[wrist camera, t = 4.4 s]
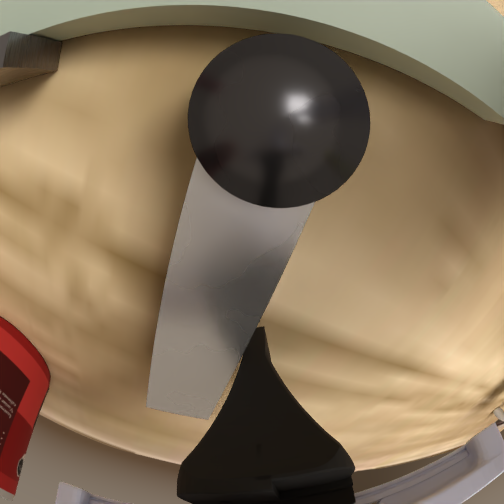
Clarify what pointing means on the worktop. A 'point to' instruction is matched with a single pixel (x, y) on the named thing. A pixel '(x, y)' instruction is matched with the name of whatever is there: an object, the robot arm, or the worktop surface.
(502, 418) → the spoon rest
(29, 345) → the canned food
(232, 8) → the pale green flat bar
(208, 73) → the latch bar
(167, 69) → the worktop surface
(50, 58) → the block
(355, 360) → the worktop surface
